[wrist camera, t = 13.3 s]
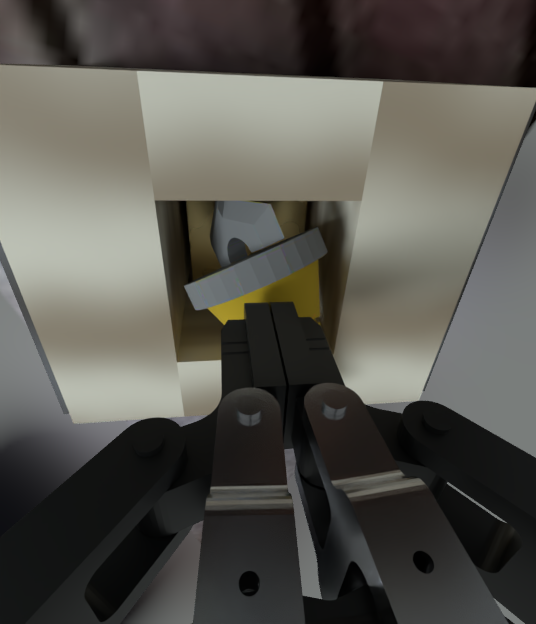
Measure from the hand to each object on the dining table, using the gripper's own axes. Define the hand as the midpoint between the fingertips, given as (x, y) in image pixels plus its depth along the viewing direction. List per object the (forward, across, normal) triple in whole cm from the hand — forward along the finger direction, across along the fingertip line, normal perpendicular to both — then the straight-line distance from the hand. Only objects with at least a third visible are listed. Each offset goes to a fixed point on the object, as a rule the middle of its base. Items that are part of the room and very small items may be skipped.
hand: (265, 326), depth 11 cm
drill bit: (+5, -1, -1) cm, 6 cm away
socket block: (+13, 0, 0) cm, 13 cm away
